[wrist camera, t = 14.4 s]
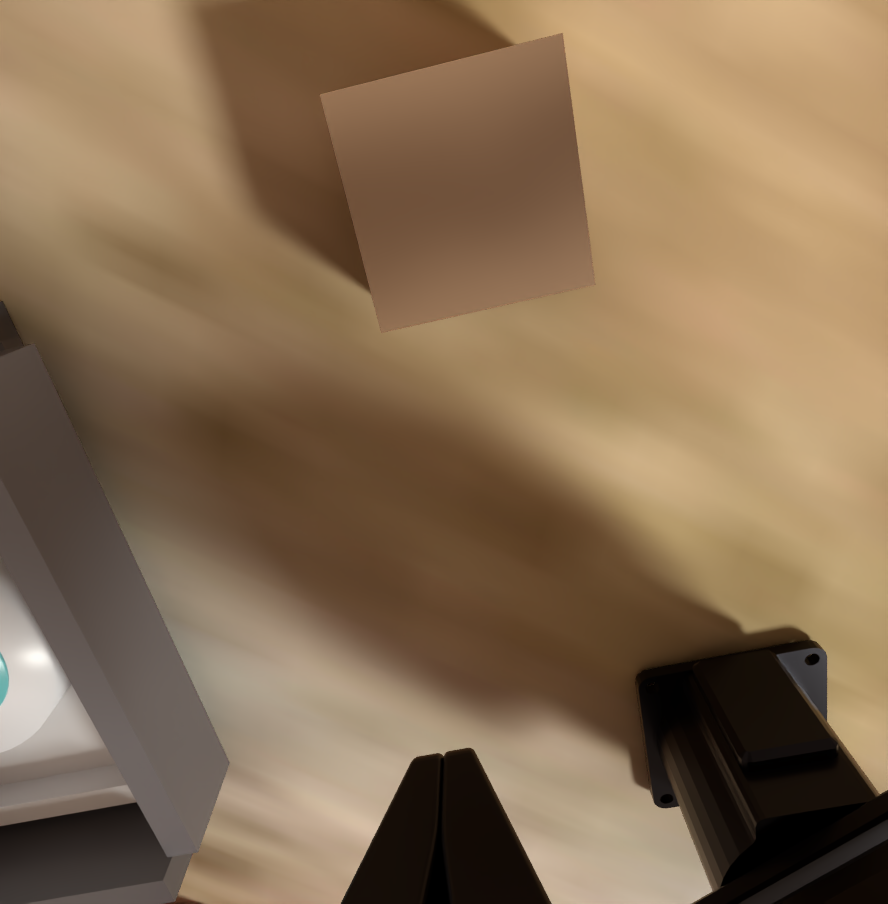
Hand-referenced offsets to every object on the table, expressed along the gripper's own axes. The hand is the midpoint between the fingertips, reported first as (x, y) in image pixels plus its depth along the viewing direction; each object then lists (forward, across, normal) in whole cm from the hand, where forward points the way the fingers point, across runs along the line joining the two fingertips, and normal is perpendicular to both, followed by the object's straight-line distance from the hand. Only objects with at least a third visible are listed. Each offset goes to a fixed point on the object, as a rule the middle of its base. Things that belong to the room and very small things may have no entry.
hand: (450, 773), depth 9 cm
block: (+12, -2, -7) cm, 14 cm away
